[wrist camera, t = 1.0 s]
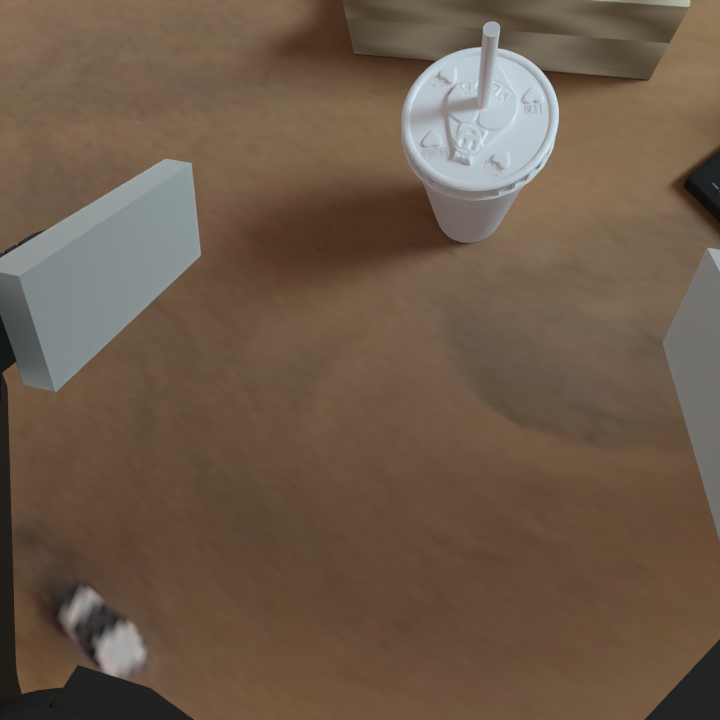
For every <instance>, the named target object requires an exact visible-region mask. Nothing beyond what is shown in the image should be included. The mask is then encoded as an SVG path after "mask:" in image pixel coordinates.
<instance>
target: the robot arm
mask: <svg viewBox="0 0 720 720" xmlns="http://www.w3.org/2000/svg"><path fill="white" fill-rule="evenodd" d="M200 256H201V250H200V240H199V231H198V221H197V211H196V201H195V191H194V182H193V172H192V163H188V162H182V161H176V160H170V159H164V160H163V161H161V162H159V163H158V164H156V165H154V166H153V167H151V168H149V169H148V170H146V171H144V172H143V173H141V174H139V175H138V176H136V177H134V178H133V179H131V180H129V181H128V182H126V183H124V184H123V185H121V186H119V187H118V188H116V189H114V190H113V191H111V192H109V193H108V194H106V195H104V196H103V197H101V198H99V199H98V200H96V201H94V202H93V203H91V204H89V205H88V206H86V207H84V208H82V209H81V210H79V211H77V212H76V213H74V214H72V215H71V216H69V217H67V218H66V219H64V220H62V221H61V222H59V223H57V224H56V225H54V226H52V227H51V228H49V229H46V230H43V231H40V232H37V233H34V234H33V235H31V236H29V237H28V238H26V239H24V240H23V241H21V242H19V243H18V246H17V245H14V246H12V247H11V248H9V249H7V250H6V251H5V253H4V254H3V253H1V254H0V720H193V719H192V718H191V717H189V716H188V715H187V714H185V713H184V712H182V711H181V710H180V709H178V708H177V707H176V706H174V705H173V704H171V703H170V702H169V701H167V700H166V699H165V698H163V697H162V696H160V695H159V694H158V693H156V692H155V691H154V690H152V689H151V688H148V687H145V686H142V685H139V684H136V683H133V682H129V681H126V680H123V679H120V678H117V677H114V676H111V675H107V674H104V673H101V672H98V671H95V670H92V669H89V668H85V667H82V666H79V665H77V667H76V669H75V670H74V672H73V673H72V675H71V676H70V678H69V680H68V681H67V683H66V684H65V686H64V687H63V688H53V689H45V690H37V691H33V692H29V693H25V694H22V693H21V689H20V686H19V682H18V677H17V671H16V656H15V623H14V590H13V556H12V523H11V490H10V457H9V424H8V391H7V384H6V382H5V379H4V376H3V374H2V373H3V372H4V371H5V370H6V369H7V368H9V367H10V366H11V365H12V364H14V363H15V362H16V365H17V368H18V371H19V373H20V376H21V379H22V382H23V385H27V386H31V387H35V388H39V389H44V390H48V391H52V392H57V391H58V390H59V389H60V388H61V387H62V386H63V385H64V384H65V383H66V382H67V381H68V380H69V379H70V378H71V377H73V376H74V375H75V374H76V373H77V372H78V371H79V370H80V369H81V368H82V367H83V366H84V365H85V364H86V363H87V362H88V361H90V360H91V359H92V358H93V357H94V356H95V355H96V354H97V353H98V352H99V351H100V350H101V349H102V348H103V347H104V346H105V345H107V344H108V343H109V342H110V341H111V340H112V339H113V338H114V337H115V336H116V335H117V334H118V333H119V332H120V331H121V330H122V329H123V328H125V327H126V326H127V325H128V324H129V323H130V322H131V321H132V320H133V319H134V318H135V317H136V316H137V315H138V314H139V313H140V312H142V311H143V310H144V309H145V308H146V307H147V306H148V305H149V304H150V303H151V302H152V301H153V300H154V299H155V298H156V297H157V296H158V295H160V294H161V293H162V292H163V291H164V290H165V289H166V288H167V287H168V286H169V285H170V284H171V283H172V282H173V281H174V280H175V279H177V278H178V277H179V276H180V275H181V274H182V273H183V272H184V271H185V270H186V269H187V268H188V267H189V266H190V265H191V264H192V263H194V262H195V261H196V260H197V259H198V258H199V257H200ZM663 347H664V350H665V354H666V357H667V361H668V364H669V368H670V371H671V375H672V378H673V382H674V385H675V388H676V392H677V395H678V399H679V402H680V406H681V409H682V413H683V416H684V420H685V423H686V427H687V430H688V434H689V437H690V440H691V444H692V447H693V451H694V454H695V458H696V461H697V465H698V468H699V472H700V475H701V479H702V482H703V486H704V489H705V492H706V496H707V499H708V503H709V506H710V510H711V513H712V517H713V520H714V524H715V527H716V531H717V534H718V537H719V541H720V250H718V249H712V248H707V249H706V251H705V253H704V256H703V258H702V260H701V262H700V264H699V266H698V268H697V271H696V273H695V275H694V277H693V279H692V281H691V283H690V285H689V288H688V290H687V292H686V294H685V296H684V298H683V300H682V302H681V305H680V307H679V309H678V311H677V313H676V315H675V317H674V320H673V322H672V324H671V326H670V328H669V330H668V332H667V334H666V337H665V339H664V341H663ZM645 720H720V640H719V641H718V642H717V643H716V644H715V645H714V646H713V647H712V648H711V649H710V650H709V651H708V653H707V654H706V655H705V656H704V657H703V658H702V659H701V660H700V661H699V662H698V663H697V664H696V665H695V666H694V667H693V669H692V670H691V671H690V672H689V673H688V674H687V675H686V676H685V677H684V678H683V679H682V680H681V681H680V682H679V684H678V685H677V686H676V687H675V688H674V689H673V690H672V691H671V692H670V693H669V694H668V695H667V696H666V697H665V698H664V700H663V701H662V702H661V703H660V704H659V705H658V706H657V707H656V708H655V709H654V710H653V711H652V712H651V713H650V714H649V716H648V717H647V718H646V719H645Z"/></svg>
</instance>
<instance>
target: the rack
mask: <svg viewBox="0 0 720 720" xmlns="http://www.w3.org/2000/svg"><path fill="white" fill-rule="evenodd" d="M342 3H343V7H344V11H345V16H346V20H347V24H348V29H349V33H350V37H351V42H352V46H353V50H354V54H364V55H375V56H386V57H398V58H409V59H420V60H431V61H438V60H440V59H441V58H443V57H445V56H447V55H449V54H452V53H454V52H457V51H460V50H464V49H469V48H477V47H482V36H483V27H484V25H485V24H486V23H488V22H496V23H498V24H499V26H500V33H499V41H498V48H499V49H504V50H508V51H511V52H514V53H516V54H519V55H521V56H523V57H524V58H526V59H528V60H529V61H531V62H532V63H533V64H535V65H536V66H537V67H538V68H539V69H540V70H545V71H556V72H567V73H579V74H590V75H601V76H612V77H624V78H635V79H646V80H649V79H650V77H651V75H652V74H653V72H654V70H655V68H656V66H657V65H658V63H659V61H660V59H661V57H662V55H663V54H664V52H665V50H666V48H667V46H668V45H669V43H670V41H671V39H672V37H673V35H674V34H675V32H676V30H677V28H678V26H679V25H680V23H681V21H682V19H683V17H684V16H685V14H686V12H687V10H688V8H689V5H690V0H342Z"/></svg>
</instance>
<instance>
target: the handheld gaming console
mask: <svg viewBox="0 0 720 720" xmlns="http://www.w3.org/2000/svg"><path fill="white" fill-rule="evenodd" d="M684 187H685V188H686V189H687V190H688V191H689V192H690V193H691V194H692V195H693V196H694V197H695V198H696V199H697V200H698V201H699V202H700V203H701V204H702V205H703V206H704V207H705V208H706V209H707V210H708V211H709V212H710V213H711V214H712V215H713V216H714V217H715V218H716V219H717V220H718V221H719V222H720V152H719V153H718V154H717V155H716V156H714V157H713V158H712V159H710V160H709V161H708V162H707V163H705V164H704V165H703V166H702V167H700V168H699V169H698V170H696V171H695V172H694V173H693V174H691V175H690V176H689V177H688V179H687V180H686V182H685V183H684Z"/></svg>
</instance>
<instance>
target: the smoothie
mask: <svg viewBox="0 0 720 720" xmlns="http://www.w3.org/2000/svg"><path fill="white" fill-rule="evenodd" d="M499 33H500V26H499V24H498V23H496V22H488V23H486V24H485V25H484V27H483V36H482V47H477V48H469V49H464V50H460V51H457V52H454V53H452V54H449V55H447V56H445V57H443V58H441V59H440V60H438V61H436V62H435V63H433V64H432V65H431V66H430V67H428V68H427V69H426V70H425V71H424V72H423V73H422V74H421V75H420V76H419V77H418V79H417V80H416V81H415V83H414V84H413V85H412V87H411V89H410V91H409V92H408V95H407V97H406V99H405V102H404V106H403V110H402V117H401V138H402V148H403V150H404V153H405V156H406V159H407V162H408V164H409V166H410V167H411V168H412V170H413V171H414V173H415V174H416V175H417V177H418V178H419V179H420V180H421V181H422V182H423V184H424V187H425V190H426V192H427V195H428V198H429V200H430V203H431V206H432V208H433V211H434V214H435V216H436V219H437V222H438V224H439V226H440V228H441V230H442V231H443V232H444V233H445V234H446V235H447V236H448V237H450V238H451V239H453V240H455V241H458V242H462V243H474V242H478V241H481V240H484V239H486V238H487V237H489V236H490V235H491V234H492V233H493V232H494V231H495V230H496V229H497V227H498V226H499V224H500V223H501V221H502V219H503V218H504V216H505V214H506V213H507V211H508V210H509V208H510V206H511V205H512V203H513V201H514V200H515V198H516V197H517V195H518V193H519V192H520V190H521V188H522V187H523V186H524V185H526V184H527V183H529V182H530V181H531V180H532V179H533V178H534V177H535V176H536V174H537V173H538V172H539V171H540V170H541V169H542V168H543V167H544V165H545V163H546V161H547V159H548V157H549V156H550V154H551V152H552V150H553V146H554V141H555V137H556V133H557V128H558V121H559V108H558V102H557V98H556V95H555V92H554V89H553V87H552V85H551V83H550V82H549V80H548V79H547V77H546V76H545V75H544V73H543V72H542V71H541V70H540V69H539V68H538V67H537V66H536V65H535V64H533V63H532V62H531V61H529V60H528V59H526V58H524V57H523V56H521V55H519V54H516V53H514V52H511V51H508V50H504V49H499V48H498V41H499Z"/></svg>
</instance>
